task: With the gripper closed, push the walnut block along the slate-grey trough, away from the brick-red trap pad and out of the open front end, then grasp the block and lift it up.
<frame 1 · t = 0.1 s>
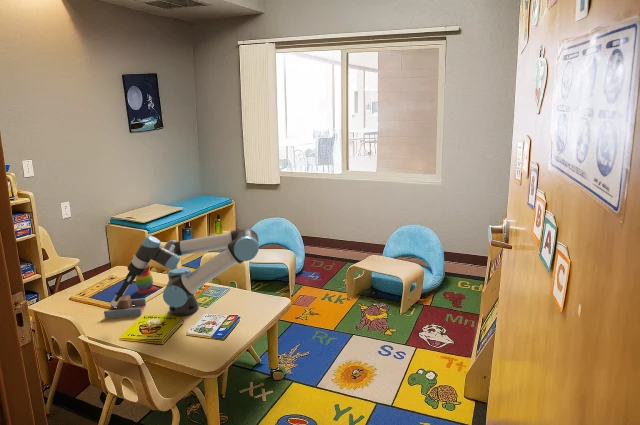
hand: (117, 299, 228), 15 cm above the table, tool tilted 35°, fingers open, 13 cm apart
trap trough: (126, 311, 248), on the table
stacking bear: (146, 290, 274), on the table
walnut block: (125, 311, 248), on the table
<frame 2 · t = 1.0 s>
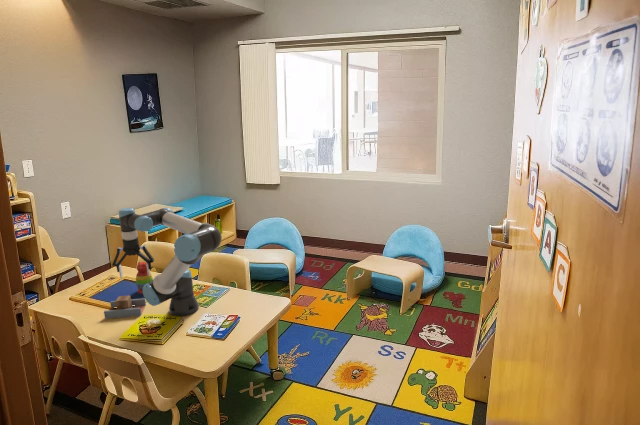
hand: (135, 276, 243), 20 cm above the table, tool pointing down, fingers open, 13 cm apart
nothing on the table moved.
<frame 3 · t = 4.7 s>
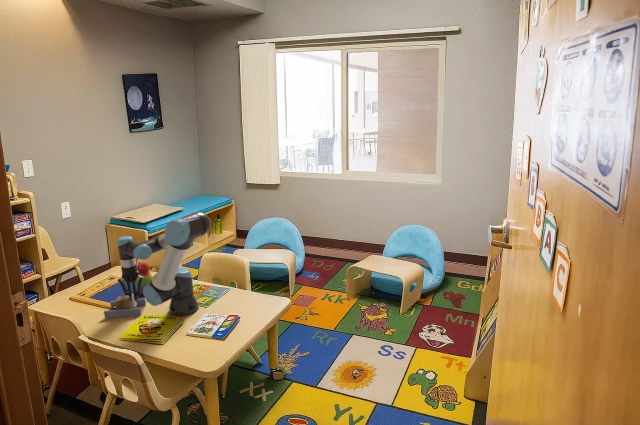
hand: (134, 306, 248), 3 cm above the table, tool pointing down, fingers closed
walnut block: (125, 311, 248), on the table, touching gripper
everything else where it was.
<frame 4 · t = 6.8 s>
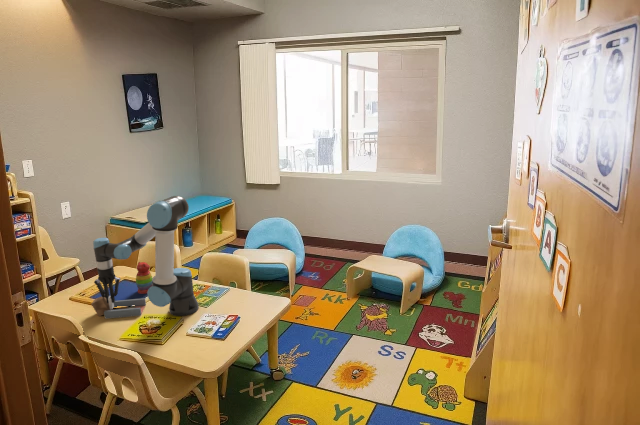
hand: (112, 308, 247), 3 cm above the table, tool pointing down, fingers closed
walnut block: (105, 311, 247), point 1 cm above the table, tilted 20°, touching gripper
everything else where it was.
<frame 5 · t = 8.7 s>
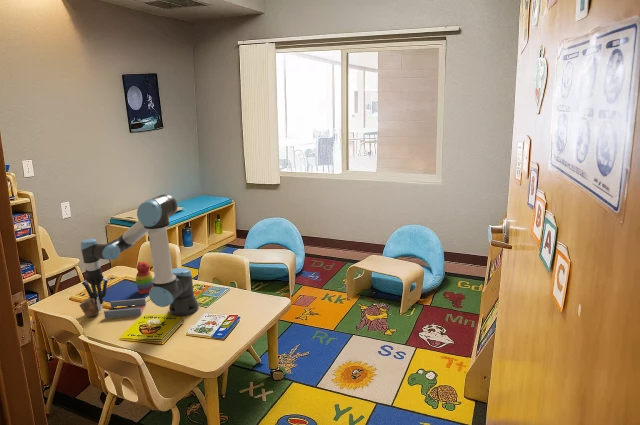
hand: (100, 309, 246), 3 cm above the table, tool pointing down, fingers closed
walnut block: (94, 313, 246), point 1 cm above the table, tilted 20°, touching gripper
everything else where it was.
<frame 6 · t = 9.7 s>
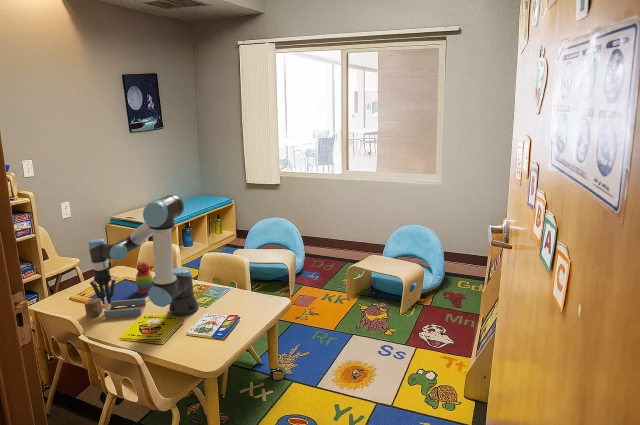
hand: (108, 309, 246), 2 cm above the table, tool pointing down, fingers closed
walnut block: (94, 314, 246), on the table
everything else where it was.
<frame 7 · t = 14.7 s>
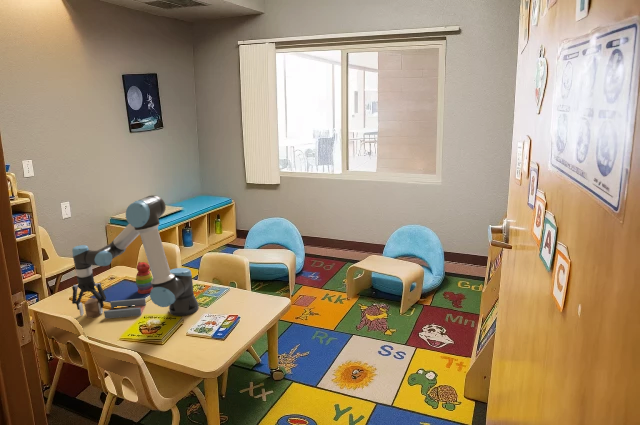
hand: (91, 313, 246), 0 cm above the table, tool pointing down, fingers open, 9 cm apart
walnut block: (94, 314, 246), on the table, touching gripper
everything else where it was.
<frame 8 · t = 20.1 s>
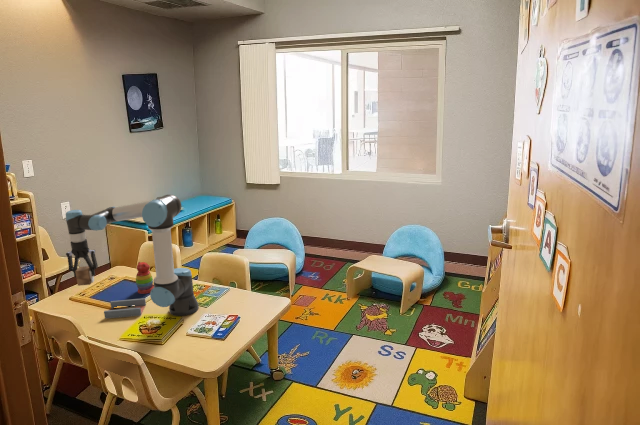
hand: (86, 282, 241), 19 cm above the table, tool pointing down, fingers closed on walnut block, 6 cm apart
walnut block: (86, 282, 241), point 19 cm above the table, touching gripper
everything else where it was.
at the end: walnut block inside the target area (0.6 cm from its centre), point 18.5 cm above the table; the gripper is holding walnut block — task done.
